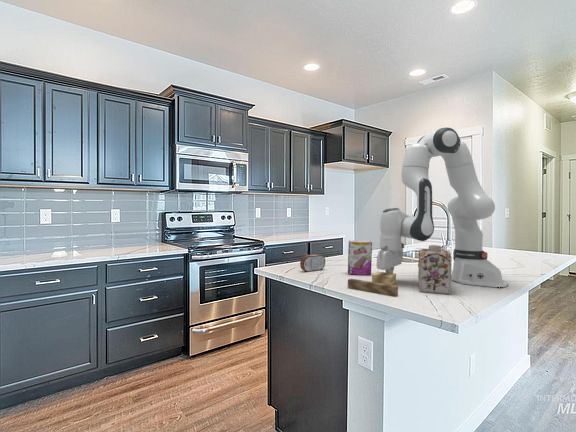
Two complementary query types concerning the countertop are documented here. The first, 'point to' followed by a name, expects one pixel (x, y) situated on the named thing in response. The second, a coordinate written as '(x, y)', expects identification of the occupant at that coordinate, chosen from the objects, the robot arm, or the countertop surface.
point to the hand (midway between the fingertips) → (389, 277)
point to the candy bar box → (359, 257)
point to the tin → (312, 262)
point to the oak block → (384, 278)
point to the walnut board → (373, 287)
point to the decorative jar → (434, 270)
